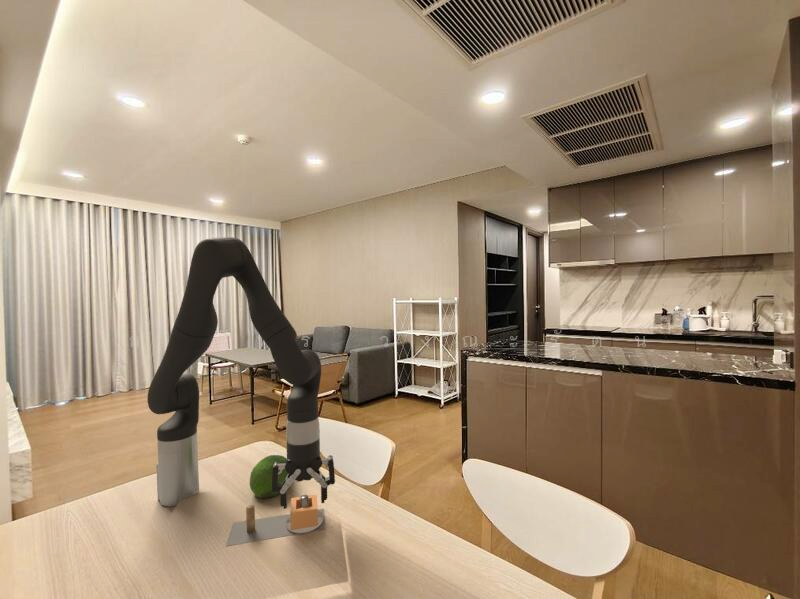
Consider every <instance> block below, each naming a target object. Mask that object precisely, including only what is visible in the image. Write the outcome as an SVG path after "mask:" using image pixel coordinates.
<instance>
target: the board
mask: <svg viewBox="0 0 800 599" xmlns="http://www.w3.org/2000/svg"><path fill="white" fill-rule="evenodd" d="M318 510H319V511H320V512H321V513H322V514H323V517H324V520H323V523H322V525H321V526H320V527H319V528H318V529H316V530H314V531H312V532H311V533H313V532H319V531H323V530H326V519H325V508H321V509H318ZM289 516H290V513H288V514H287V513H286V514H281V515H275V516H268V517H261V518H255V531H254V532H252V533H247V523H246V520H242V521H237V522H232V525H231V527H230V531H229V534H228V537H227V541H226V544H225V547H231V546H236V545H242V544H248V543H253V542H259V541H265V540H272V539H276V538H283V537H289V536H295V535H297V534H294V533H291V532H289V531H288V530H287V528H286V520H287V519H288V517H289Z"/></svg>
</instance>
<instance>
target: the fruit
mask: <svg viewBox="0 0 800 599" xmlns="http://www.w3.org/2000/svg"><path fill="white" fill-rule="evenodd" d="M286 461H287V457H285V456H283V455H279V454H277V455H276V454H271V455H268V456H266V457H263V458H262V459H261V460H259V462H257V463H256V465H255V466H254V467H253V468H252V470H251V472H250V477H249V488H250V491H251V492H252V493H253V494H254V496H256V497H257V498H260V499H270V498H273V497H275V496H277V495H280V493H279V492H272V472H273V464H274V462H278V463H279V464H281V463H286ZM287 475H288V472H287V471H286V470H285V469H283V470H282V473H281V474H278V483H279V484H282V483H283V481H284V480H285V479H286V476H287Z"/></svg>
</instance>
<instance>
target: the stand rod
mask: <svg viewBox="0 0 800 599" xmlns="http://www.w3.org/2000/svg"><path fill="white" fill-rule="evenodd" d="M255 507H256V505H255V504H248V505H246V508H245V514H246V517H245V518H246V520H245V521H246V523H247V533H252V532H254V531H255V519H256V516H255V515H256V512H255V511H256V510H255Z"/></svg>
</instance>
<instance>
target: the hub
mask: <svg viewBox="0 0 800 599" xmlns="http://www.w3.org/2000/svg"><path fill="white" fill-rule="evenodd" d="M308 496H309V495H308V494H303V495H301V496H299V497H300V501H301V508H306V507H309V504H308ZM324 518H325V516H324V517H323V514H322V513H321V512H320V511H319V509H318V526H313V527H307V528H301V529H295V530H291V523H290V516H289V517H288V519H287V520H286V528H287V530H288V531H289V532H291V533H294V534H296V535H306V534H308V533H313V532H312V531H314V530H316V529H318V528H319V527H320V526H321V525H322V523H323V520H324ZM314 532H315V531H314Z"/></svg>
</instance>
